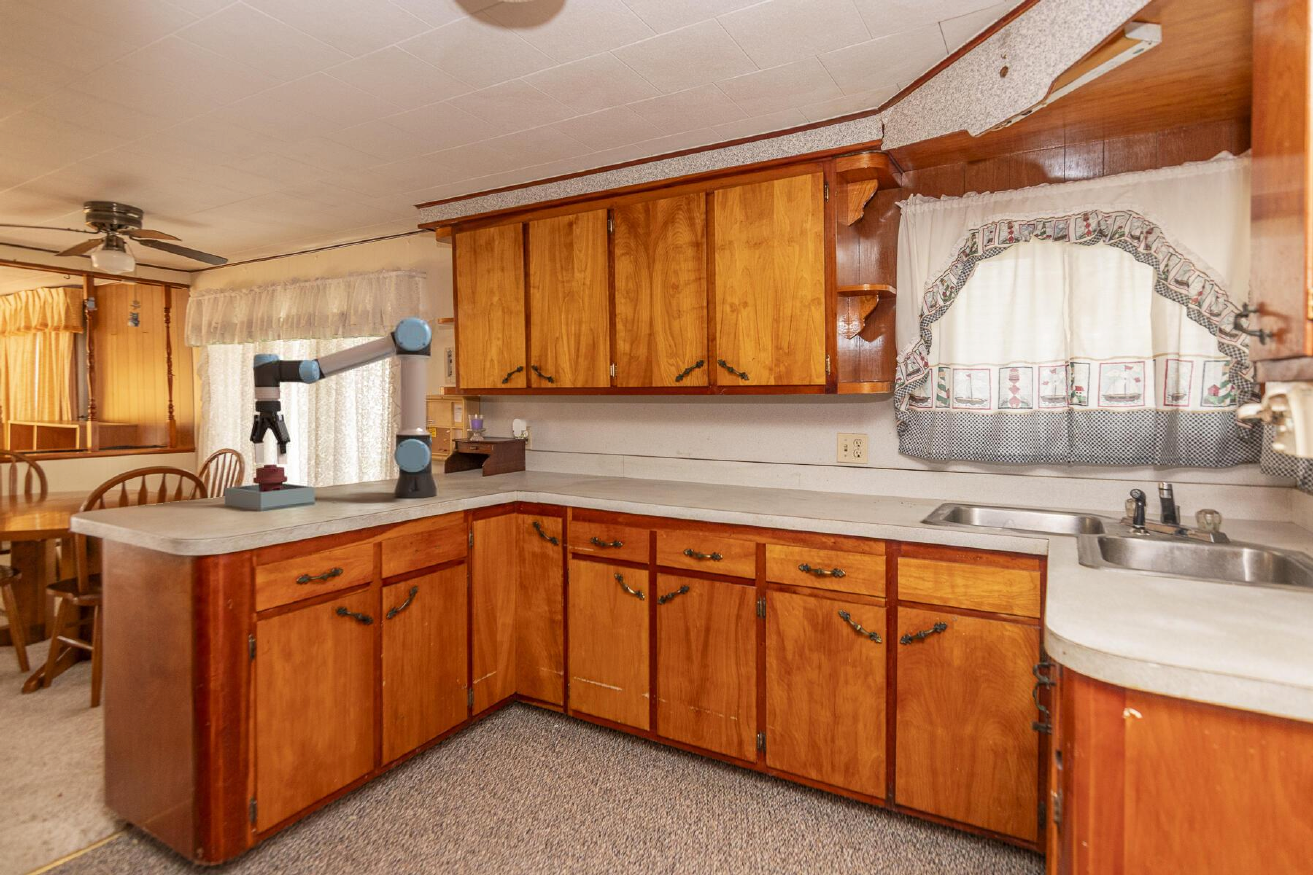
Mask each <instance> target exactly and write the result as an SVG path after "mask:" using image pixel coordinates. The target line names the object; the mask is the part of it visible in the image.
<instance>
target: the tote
mask: <svg viewBox="0 0 1313 875" xmlns="http://www.w3.org/2000/svg"><path fill="white" fill-rule="evenodd" d="M313 505H315V486H308V485H300V484H292V483H285V482H283V483H282V490H278V491H268V492H259V484H251V485H250V484H249V485H239V486H230V487H229V486H227V487H224V506H227V507H231V508H237V509H238V508H239V509H244V510H251V511H255V512H266V511H274V510H284V509H290V508H291V509H292V508H297V507H298V508H299V507H306V506H307V507H308V506H313Z"/></svg>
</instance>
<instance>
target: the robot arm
mask: <svg viewBox="0 0 1313 875" xmlns="http://www.w3.org/2000/svg"><path fill="white" fill-rule="evenodd" d="M432 340H433V334H432V331H431V328H430V326H429V324H428V323H426V322H425V321H424V320H422V319H421V318H419V317H407V318H404V319H402V320H401V321H399V322H398V323H397V325H396V327H395V329H394V330H393V331H390V332H389V333H388V335H387V336H383V337H381V338H378V339H374V340H372V341H368V342H365V343H361V344H359V345H355V346H353V347H349V348H346V349H343V350H340V351H337V352H333V353H330V354H326V355H324V356H320V357H317V358H314V359H310V360H309V359H295V360H294V359H293V360H292V359H291V360H290V359H288V360H283V359H280V357H279V355H278V354H275V353H257V354H255V355H254V356H253V367H252V371H253V381H254V383H253V384H254V399H255V400H256V401H255V402H254V407H255V410H254V411H255V412H257V413H259V414H253V423H252V428H251V433H250V436H249V442H252V443H253V445H254V463H255V464H256V463H265V447H264V446H265V445H264V444H265V443H264V438H265V435H266V433H267V431H268V429H269V430H271V433H272V434H273V436H274V438H275V440H276V458H277V460H276V462H277V465H285V464H288V461H287V459H288V458H287V445H288V443H291V437H290V435H289V432H288V428H287V426H286V422H285V416H284V414H278V412H279V413H280V412H281V411H282V408H281V407H282V404H281V401H280V399H281V392H282V391H281V384H280V383H300V384H301V383H302V384H307V385H312V384H315V383H317V382H318V381H321V380H325V379H327V378H330V377H332V376H336V375H339V374H342V373H346V372H348V371H353V370H355V369H358V368H360V367H361V368H362V367H365V366H367V365H370V364H373V363H376V362H380V361H383V360H386V359H389V358H393V357H396V358H397V359H398V360H399V361H400V429H399V430H398V431H396V433H395V450H394V453H393V454H394V455H393V456H394V461H395V463H396V465H397V466H398V477H397V480H396V481H397V482H396V484H395V488H394V490H393V491H394V495H393V496H394V497H395V498H401V499H416V498H418V499H419V498H420V499H421V498H430V497H435V496H437V495H438V489H437V487H436V483H435V480H434V477H433V472H432V471H433V470H432V469H433V467H432V466H433V464H432V463H433V458H432V456H433V455H432V454H433V452H432V451H433V450H432V445H433V441H432V436H431V433H430V431H428V430H427V362H428V361H429V360H430V359H431V357H432Z"/></svg>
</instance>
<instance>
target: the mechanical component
mask: <svg viewBox="0 0 1313 875" xmlns="http://www.w3.org/2000/svg"><path fill="white" fill-rule="evenodd" d="M277 465H278V464H263V467H257V468H255V477H253V478H252V479H253V483H254V484H256V485H259V492H268V491H278V490H282V483H286V482H288V476H286V475H285V467H283V466H277Z"/></svg>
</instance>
